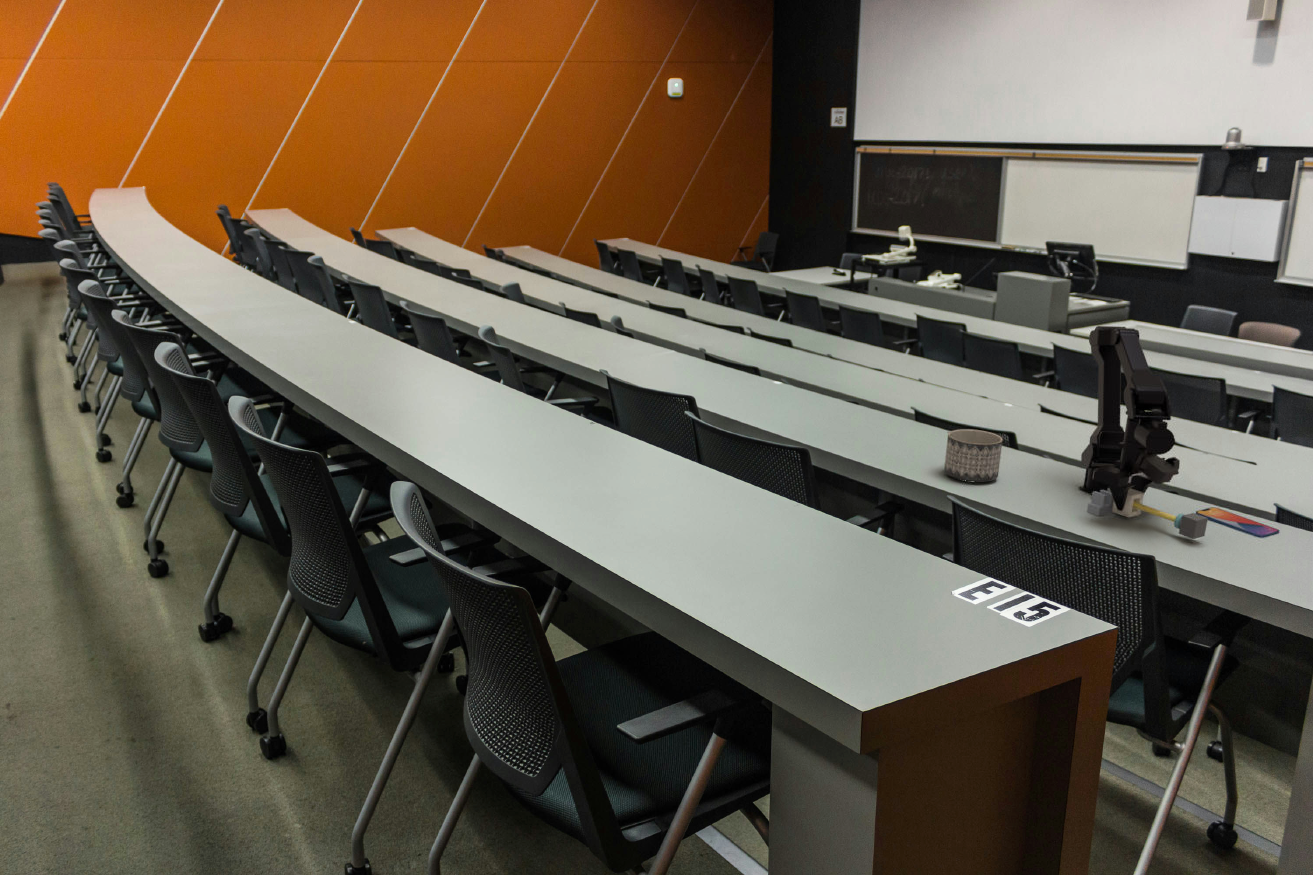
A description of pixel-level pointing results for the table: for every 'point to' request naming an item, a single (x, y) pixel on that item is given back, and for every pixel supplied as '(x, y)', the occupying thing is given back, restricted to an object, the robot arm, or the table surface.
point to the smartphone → (1237, 522)
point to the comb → (1101, 503)
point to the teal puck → (1178, 521)
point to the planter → (973, 455)
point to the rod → (1154, 511)
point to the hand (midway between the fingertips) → (1126, 508)
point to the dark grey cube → (1193, 525)
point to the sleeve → (1130, 504)
